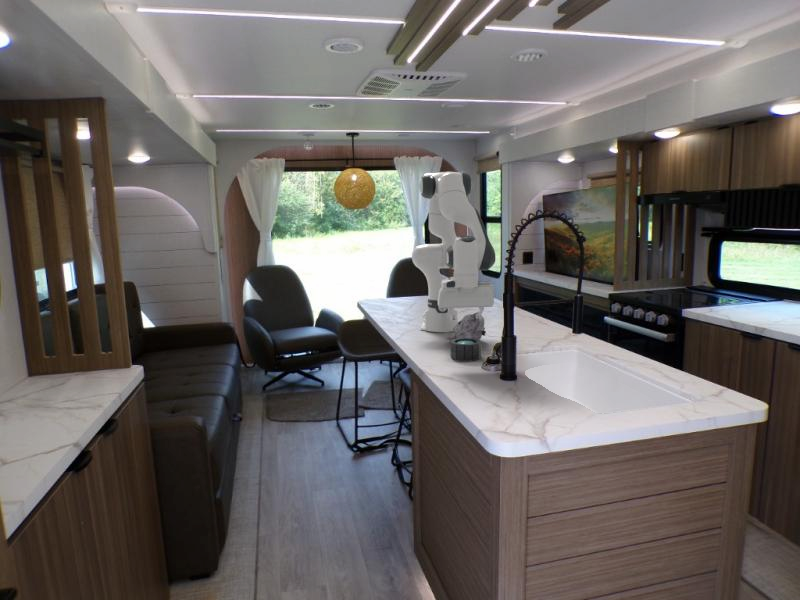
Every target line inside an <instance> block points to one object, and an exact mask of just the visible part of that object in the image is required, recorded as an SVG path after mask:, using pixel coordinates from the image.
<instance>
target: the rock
mask: <svg viewBox="0 0 800 600" xmlns="http://www.w3.org/2000/svg"><path fill="white" fill-rule="evenodd" d="M478 313H479V311H477V312H475V313H472V314H471V313H469V314H466V315H464V316H463V317H462V319H461V320H458V323H457V324H456V325H455V326H454V327H453V331H452V332H453V333H454V335H453V339H457V338H474V339H478V340H481V339H482V336H483V337H485V336H486V333H487V331H486V330H485V329H486V327H485V318H484V317H483V316H482V315H481V319H476V314H478Z"/></svg>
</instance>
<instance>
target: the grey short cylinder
mask: <svg viewBox="0 0 800 600" xmlns="http://www.w3.org/2000/svg"><path fill="white" fill-rule="evenodd" d="M459 341H472V342H474V343H472V344H460V343H457V342H459ZM449 343H450V344H449V345H450V346H449V348H450V349H449V353H450V354H449V355H450V359H452V360H453V361H458V362H474V361H475V362H476V361H479V360H481V358H482V341H481V339H479V340H478V339H474V338H457V339H454V338H453V339H451V340H450V341H449Z"/></svg>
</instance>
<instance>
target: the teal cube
mask: <svg viewBox="0 0 800 600" xmlns="http://www.w3.org/2000/svg"><path fill="white" fill-rule="evenodd" d="M457 343H460V344H472V343H474V342H472V341H459V342H457Z"/></svg>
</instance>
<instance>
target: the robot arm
mask: <svg viewBox="0 0 800 600" xmlns="http://www.w3.org/2000/svg"><path fill="white" fill-rule="evenodd" d="M472 181H473V180H472V177H471V175H470V174H469V173H468V172H463V171H461V172H456V171H440V172H433V173H432V172H427V173H424V174H423V175H421V176H420V180H419V182H418V190H419V192H420V195H421V196H422V198H424V199H426V200H427V199H428V200H429V202H428V204H429V205H428V231H429V232H430V234H432V235H434V236H435V237H437V238H440V239H441V243H425V244H420V245H417V246H415V247H414V248H413V251H412V254H411V261H412V263H413V265H414V266H415V267H416V268H418V269H419V270H420V271H421V272H422V273H423V275H424V276H425V278H426V281H427V287H428V298H427V309H426V310H425V312H424V313H423V314H422V319H423V323H422V325H421V326H420V330H421V331H427V332H433V333H450V332H453V327H454V326H455V325H456V324H457V323H458V322H459V320H458V319H459V318H458V317H459V316H458V310H456V309H457V308H458V309H459V308H478V309H479V311H478V312H479V313H478V314H476V319H481V316H482V314H483V312H484V311H485V308H491V307H493V306H494V305H495V297H494V292H495V284H494V282H491V281H490V280H487V281H485V280H484V281H482V280H480V281H479V271H488V270H489V269H491V267H493V266H494V265H495V263H496V251H495V249H494V247H493V244H492V243H491V241H490V238H489V236H488V233H487V231H486V229H485V225H484V223H483V220H482V218H481V214H480V212H479V211H478V209H477V208H475V207H473V206H472V204H471V203H470V202H469V200H468V198H467V197H469V195H471V193H472V187H473V182H472ZM455 223H458V224H460V225H463V226H466V227H467V228H469V229H470V230H471V232H472V235H473V236H472V235H459V236H457V233H456V230H455ZM440 269H450V270H453V275H452V276H450V277H448V276H446V275H444V274H441V271H440Z"/></svg>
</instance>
